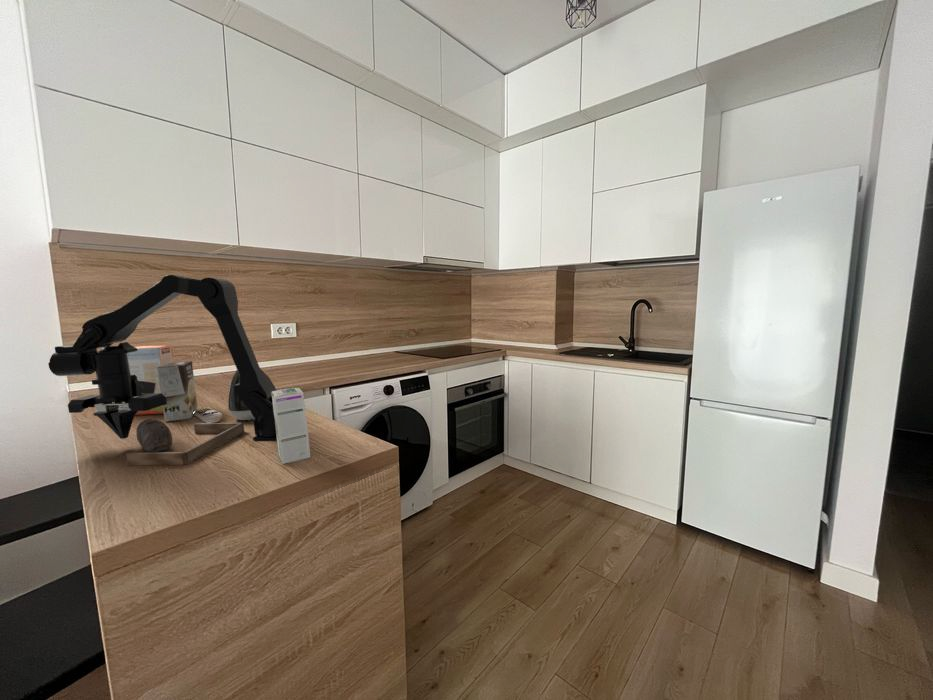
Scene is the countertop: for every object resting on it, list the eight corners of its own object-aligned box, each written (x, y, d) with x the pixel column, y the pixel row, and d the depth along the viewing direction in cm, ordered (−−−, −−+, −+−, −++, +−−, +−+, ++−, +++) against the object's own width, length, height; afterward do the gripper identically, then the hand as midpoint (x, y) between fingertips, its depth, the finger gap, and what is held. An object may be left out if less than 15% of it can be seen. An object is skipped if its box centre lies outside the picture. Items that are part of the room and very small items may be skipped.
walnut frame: (244, 431, 98) (243, 422, 97) (186, 464, 78) (184, 453, 78) (197, 432, 98) (195, 423, 98) (127, 465, 79) (126, 454, 79)
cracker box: (181, 408, 122) (172, 344, 119) (167, 414, 116) (157, 346, 113) (137, 410, 122) (127, 346, 119) (121, 416, 116) (110, 348, 113)
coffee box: (191, 418, 111) (183, 365, 108) (164, 422, 108) (156, 367, 106) (198, 410, 119) (192, 360, 117) (174, 413, 117) (166, 362, 114)
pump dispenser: (247, 425, 103) (241, 370, 101) (221, 421, 107) (214, 369, 105) (278, 414, 112) (273, 364, 110) (253, 411, 116) (248, 362, 114)
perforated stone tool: (133, 444, 92) (128, 416, 91) (160, 437, 96) (156, 411, 95) (146, 459, 82) (141, 429, 81) (176, 451, 86) (171, 422, 85)
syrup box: (311, 458, 80) (305, 391, 78) (280, 465, 77) (273, 395, 75) (306, 449, 85) (300, 386, 83) (277, 455, 82) (270, 390, 80)
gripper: (180, 365, 94) (189, 425, 96) (108, 367, 95) (119, 427, 97) (140, 374, 83) (151, 442, 85) (60, 377, 84) (72, 444, 86)
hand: (124, 438), depth 89 cm, fingers closed
